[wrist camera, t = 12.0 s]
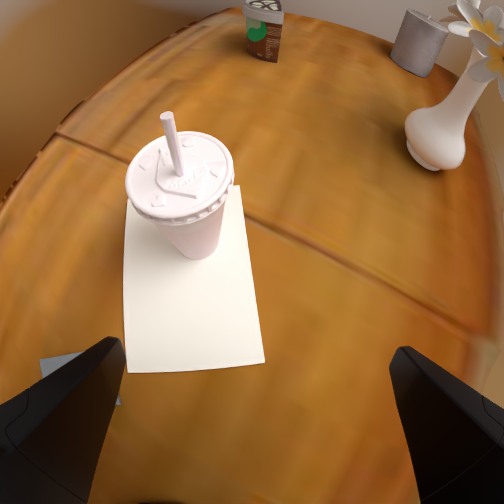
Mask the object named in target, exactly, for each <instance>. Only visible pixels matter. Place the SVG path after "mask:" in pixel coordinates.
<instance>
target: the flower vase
mask: <svg viewBox="0 0 504 504" xmlns="http://www.w3.org/2000/svg"><path fill="white" fill-rule="evenodd" d="M479 4H480V0H479V1H478V0H469V2H467V1H464V0H457V1H456V3H455V4H452V5H450V6H449V7H448V10H449V11H450V12H451V13H453V14H454V15H456V16H457V17H456V16H448V17H445V18H443V19H441V20H440V21H439V22H452V23H450V24H449V25H448V29H449V31H451V32H452V33H455V34H457V35H460V36H466V37H470V40H471V41H472V43H473V51H472V54H471V57H470V60H469V63H468V65H467V67H466V69H465V71H464V73H463V75H462V76H461V78H460V79H459V81H458V82H457V84H456V85H455V87H454V88H453V90H452V91H451V92H450V94H449V95H448V96H447V97H446V98H445V99H444V100H443V101H442V102H441V103H439V104H437V105H435V106H433V107H426V108H419V109H416V110H414V111H413V112H412V113H410V114H409V115H408V116H407V118H406V121H405V134H406V137H407V142H406V143H407V148H408V151H409V153H410V154H411V156H412V157H413V158H414V159H415V160H416V161H417V162H418V163H419V164H420V165H421V166H423V167H424V168H426V169H428V170H432V171H438V170H440V169H443V170H451V169H454V168H456V167H458V166H460V164H461V162H462V161H463V159H464V156H465V140H464V129H465V124H466V121H467V118H468V116H469V114H470V112H471V110H472V108H473V107H474V105H475V103H476V102H477V100H478V98H479V97H480V95H481V93H482V92H483V90H484V89H485V87H486V86H487V84H488V83H489V82H490V81H492V80H494V79H495V78H496V77H497V75H498V87H499V92H500V96H501V98H502V100H503V102H504V13H503V12H502V10H501V9H500V8H499V7H497V6H491V7H489V8H488V9H486V10H485V12H484V14H483V13H482V12H481V11H480V10H479V9H478V8H479ZM482 19H483V20H482ZM469 24H470V25H469Z"/></svg>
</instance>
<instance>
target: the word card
mask: <svg viewBox="0 0 504 504" xmlns="http://www.w3.org/2000/svg"><path fill="white" fill-rule="evenodd" d="M83 352H84V351H83ZM83 352H78V353H73V354H68V355H62V356H57V357H51V358H45V359H39V361H40V366H41V371H42V376H43V378H44V377H46V376H47V375H49V374H50V373H52V372H54V371H55V370H57V369H58V368H60V367H61V366H63V365H64V364H66V363H67V362H69V361H70V360H72V359H73V358H75V357H76V356H78V355H79V354H81V353H83ZM121 404H122V403H121V400H120V397H119V394H118V398H117V402H116V405H121Z"/></svg>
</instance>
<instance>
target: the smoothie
mask: <svg viewBox="0 0 504 504" xmlns="http://www.w3.org/2000/svg"><path fill="white" fill-rule="evenodd" d="M160 117H161V121H162V125H163V129H164V133H165V136H162V137H160V138H157V139H156V140H154V141H152V142H150V143H149V144H148V145H146V146H145V147H144V148H142V149H141V150H140V151H139V152H138V154H137V155H136V156H135V157H134V159H133V160H132V162H131V163H130V165H129V167H128V170H127V174H126V179H125V185H126V191H127V194H128V196H129V198H130V201H131V204H132V205H133V207H134V208H135V210H136V211H137V213H138V214H139V215H141V216H142V217H144V218H145V219H146V220H148V221H150V222H153V223H154V224H155V225H156V226H157V227H158V228H159V229H160V231H161V232H162V233H163V234H164V235H165V236H166V237H167V238H168V239H169V240H170V242H171V243H172V244H173V245H174V246H175V247H176V248H177V249H178V250H179V251H180V252H181V253H182V254H183V255H184V256H185V257H187V258H189V259H193V260H201V259H205V258H207V257H209V256H210V255H212V254H213V253H214V252H215V250H216V249H217V247H218V244H219V238H220V232H221V225H222V219H223V212H224V206H225V201H226V199H227V198H228V196H229V193H230V191H231V189H232V187H233V181H234V170H233V161H232V157H231V155H230V153H229V151H228V149H227V148H226V147H225V146H224V144H223V143H221V142H220V141H219V140H217V139H216V138H214V137H212V136H210V135H207V134H204V133H200V132H191V131H184V132H177V131H176V127H175V122H174V117H173V113H172V112H164V113H163V114H161V116H160Z"/></svg>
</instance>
